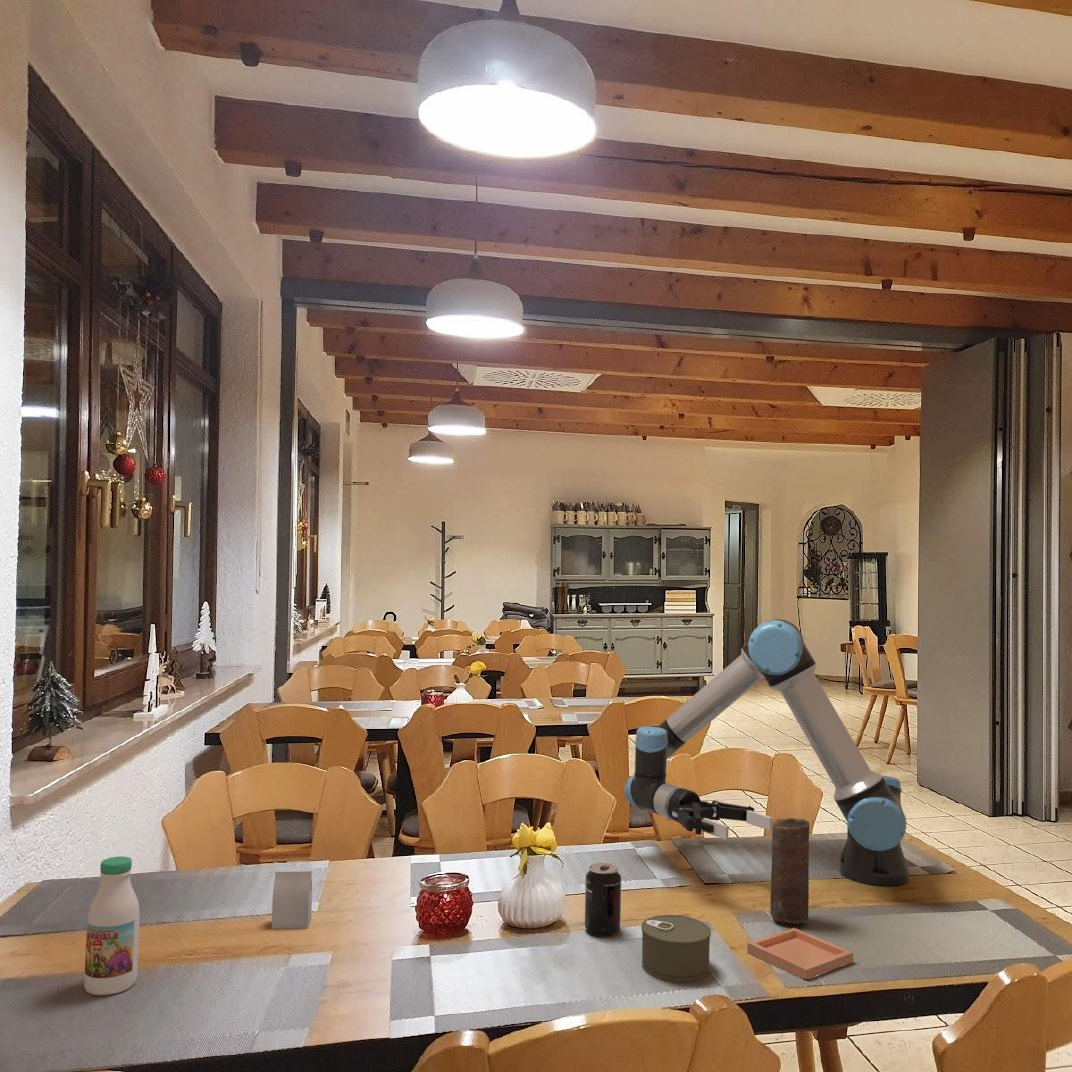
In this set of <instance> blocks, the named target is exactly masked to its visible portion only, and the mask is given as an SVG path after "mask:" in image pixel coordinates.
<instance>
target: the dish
mask: <svg viewBox="0 0 1072 1072" xmlns="http://www.w3.org/2000/svg"><path fill="white" fill-rule="evenodd" d="M746 948H747V954H749V955H751V956H752V957H753V956H754V957H756V958H758V959H759V960H762V961H764V962H766V963H768V964H770V965H773V966H774V967H776V968H779V969H781V970H783V971H785V972H787V973H789V972H791V973H792V975H793V974H795V975H797V976H796V977H798V976H800V977H801V978H800V977H799V978H800V979H802V978H804V979H809V978H811V977H814V976H816V975H818V974H821V973H823V972H827V971H830V972H832V971H831V970H833V969H835V968H837V967H840V966H842V965H845V964H849V965H851V964H853V963H854V952H852V951H850V950H848V949H845V948H843V947H841V946H838V945H836V944H833V943H831V942H829V941H826V940H824V939H822V938H819V937H817V936H815V935H812V934H810V933H807V932H805V931H802V930H800V929H798V928H795V927H792V928H789V929H787V930H783V931H782V930H781V931H779V932H777V933H774V934H770V935H768V936H764V937H761V938H758V939H755V940H752V941H749V942H747V947H746ZM850 963H851V964H850ZM833 971H834V970H833ZM791 973H790V974H791ZM795 975H794V976H795ZM804 979H803V980H804ZM809 980H810V979H809Z"/></svg>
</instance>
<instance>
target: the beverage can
mask: <svg viewBox="0 0 1072 1072" xmlns="http://www.w3.org/2000/svg"><path fill="white" fill-rule="evenodd" d="M588 869H589V870H588V871H587V872H586V874H585V886H584V887H585V890H584V891H585V894H584V897H585V899H584V927H585V929H586V930H587V931H588V932H590V934H592V935H594V936H597V937H610V936H613V935H615V934H616V933H618V932H619V931H620V930H621V915H622V914H621V912H622V911H621V909H622V907H621V906H622V905H621V904H622V875H621V873H619V867H618V866H617V865H615V864H612V863H606V862H605V863H604V862H599V863H598V862H597V863H593V864H590V865H589V867H588Z"/></svg>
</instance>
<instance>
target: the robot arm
mask: <svg viewBox="0 0 1072 1072" xmlns="http://www.w3.org/2000/svg"><path fill="white" fill-rule="evenodd" d="M740 651H741V653H740V655H739V656H738V657H737V658H735V660H733V661H732V662H731V663H730V664H728V665H727V666H726V667H725V668H724V669H723V670H722V671H721V672H719V673H718V674H717V675H716V676H715V677H713V678H712V679H711V680H710V681H709V682H708V683H706V684H705V685H704V686H703V687H701V688H700V689H699V690H698V691H697V692H696V693H695V694H694V695H693V696H691V697H690V698H689V699H688V700H687V701H686V702H685V703H683V704H682V705H681V706H680V707H678V708H677V709H676V710H675V711H674V712H673V713H671V715H670V716H668V717H667V718H666V719H665V720H663V722H661V723H660V724H658V726H642V727H639V728H637V730H636V734H635V740H634V744H635V746H634V747H635V754H634V756H635V757H634V774H632V775H631V776H630V777H628V779H627V781H626V784H625V785H624V797H625V799H626V801H627V802H628V803H629V804H630V805H632V806H634V807H637V808H638V809H640V810H642V811H646V812H650V813H652V814H655V815H658V816H661V817H663V818H666V820H667V821H671V820H673V821H674V822H677V823H678V824H680V825H681V826H682V827H683V828H684V829H685V830H686V831H687V832H689V833H690V832H693V831H694V830H695V831H694V832H695V835H702V832H703V833H706V834H709V835H712V836H715V837H717V838H719V839H723V840H725V841H727V840H729V827H730V826H729V825H726V824H723V823H721V822H717V821H719V820H720V819H722V820H731V821H739V822H740V821H741V822H746V823H747V824H749V825H751V826H755V827H758V828H760V829H764V830H765V831H772V828H773V817H772V816H769V815H765V814H763V813H759V812H756V811H755V808H754V807H753V806H751V805H748V806H746V805H739V804H732V803H727V802H721V801H717V800H712V802H708V801H706V800H701V798H700V796H699V795H698V794H697V792H695V791H693V790H690V789H687V788H683V787H681V786H678V785H674V784H672V783H668V782H667V780H666V779H667V764H668V763H667V761H668V760H669V758H670V757H672V756H673V755H674V754H675V753H676V752H677V751H678V750H679V749H680V748H682V747H683V746H684V745H686V744H687V742H688V741H690V740H691V739H692V738H694V737H695V736H696V735H697V734H698V733H699V732H700V731H702V730H703V729H704V728H705V727H706V726H708V725H709V724H710V723H711V722H712V721H714V720H715V719H716V718H717V717H719V716H720V715H721V714H722V713H723V712H724V711H725V710H727V709H728V708H729V707H730V706H731V705H733V704H734V703H735V702H736V701H737V700H739V699H740V698H741V697H743V695H745V694H746V693H747V692H748V691H749V690H751V688H753V687H754V686H755V685H756V684H758V683H759V682H760V681H761V680H762V679H765V681H766V682H767V684H768V686H769V687H770V689H773V690H775V691H778V692H780V694H781V696H782V697H783V699H784V701H785V702H786V704H787V706H788V707H789V709H790V711H791V712H792V714H793V716H794V718H795V720H796V721H797V723H798V725H799V726H800V729H801V730H802V731H803V734H804V735H805V737H806V739H807V740H808V743H809V744H810V746H811V748H812V749H813V751H814V753H815V755H816V757H817V758H818V760H819V761H820V763H821V765H822V766H823V769H824V770H825V772H826V773H827V776H828V777H829V779H830V780H831V782H832V784H833V785H834V788H835V791H834V795H833V800H834V801H835V803H836V806H837V807H838V808H839V810H840V812H841V813H842V814H841V815H843V817H844V819H845V820H846V823H847V833H846V834H847V835H846V836H847V837H846V841H845V844H844V847H843V849H842V852H841V855H840V858H839V862H838V863H839V865H838V866H839V867H838V869H839V871H838V872H839V873H840V872H841V873H840V874H841V875H842V874H843V875H842V876H844V877H846V878H847V879H850V880H853V881H856V882H859V883H864V884H868V885H872V886H873V885H874V886H875V885H876V886H885V887H886V886H900V885H905V884H906V883H908V882H909V881H910V880H909V876H910V875H909V867H908V864H907V861H906V858H905V855H904V852H903V848H902V845H901V842H902V840H903V839H904V836H905V835H906V830H907V818H906V815H905V813H904V811H903V808H902V800H901V797H902V796H901V793H902V787H901V780H900V779H899V778H897V777H895V776H890V775H889V776H888V775H882V774H881V773H878V772H875V771H872V770H871V768H870V767H869V764H867V762H866V760H865V758H864V757H863V755H862V753H861V752H860V750H859V748H858V745H856V743H855V741H854V740H853V738H852V735H850V733H849V731H848V728H846V727H847V726H845V724H844V722H843V720H842V719H841V717H840V716H839V713H838V712H837V711H836V709H835V707H834V705H833V703H832V702H831V700H830V698H829V696H828V695H827V694H826V692H825V690H824V688H823V687H822V685H821V683H820V682H819V680H818V678H817V676H816V675H815V671H816V668H817V663H816V661H815V659H814V658H813V656H812V654H811V652H810V651H809V649H808V648H807V645H806V644H805V641H804V637H803V635H802V633H801V631H800V629H799V628H798V627H797V626H796V625H795V624H794V623H792V622H790V621H788V620H784V619H777V618H776V619H771V620H768V621H765V622H763V623H761V624H760V625H759V626H757V627H755V628H754V630H753V631H752V632H751V634H750V636H749V639H748V643H747V644H746V645H744V646H743V647H742V648H741V650H740ZM714 814H715V815H714Z"/></svg>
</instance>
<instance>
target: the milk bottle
mask: <svg viewBox="0 0 1072 1072" xmlns="http://www.w3.org/2000/svg"><path fill="white" fill-rule="evenodd" d="M132 864H133V861H132V858H131V857H129V856H119V855H118V856H113V857H108V858H104V859H103V860H102V861H101V863H100V866H99V867H100V868H99V869H100V874H99V875H100V877H101V881H100V884H99V887H98V890H97V892H96V894H95V896H94V898H93V900H92V902H91V904H90V906H89V907H90V908H89V911H88V916H87V924H86V925H87V926H86V938H85V939H86V941H85V958H84V959H85V960H84V976H83V977H84V979H83V981H84V986H83V987H84V989H85V992H87V993H88V994H90V995H94V996H107V995H108V996H109V995H114V994H115V995H116V994H119V993H121V992H124V991H126V990H129V989H130V988H132V987H133V986H134V985H135V983H136V981H137V979H138V966H139V963H138V962H139V939H140V904H139V900H138V897H137V894H136V892H135V890H134V888H133V885H132V882H131V878H130V874H131V873H132V867H133V865H132Z"/></svg>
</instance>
